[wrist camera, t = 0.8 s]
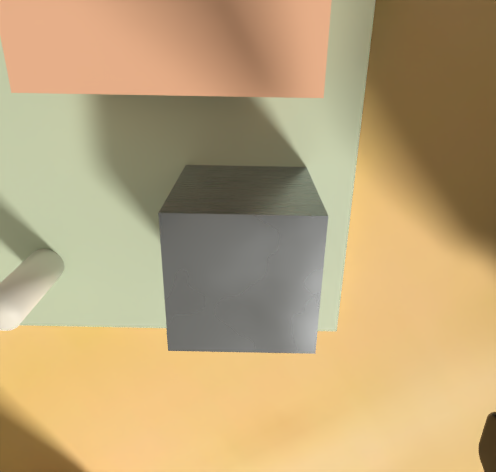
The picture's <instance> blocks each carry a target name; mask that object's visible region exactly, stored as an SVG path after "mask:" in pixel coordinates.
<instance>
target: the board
mask: <svg viewBox="0 0 496 472" xmlns="http://www.w3.org/2000/svg"><path fill="white" fill-rule="evenodd" d="M375 2H376V0H332V2H331V15H330V27H329V39H328V51H327V63H326V75H325V88H324V98H284V97H226V96H168V95H110V94H52V93H11V88H10V83H9V78H8V73H7V68H6V63H5V57H4V52H3V47H2V42H1V37H0V330H3V331H8V330H13V329H15V328H16V327H18V326H19V325H35V326H87V327H139V328H167V326H166V313H165V299H164V285H163V271H162V257H161V244H160V230H159V216H158V213H159V211H160V209H161V207H162V206H163V204H164V202H165V200H166V199H167V197H168V195H169V193H170V192H171V190H172V188H173V186H174V185H175V183H176V181H177V179H178V178H179V176H180V174H181V172H182V171H183V169H184V167H185V165H226V166H281V167H307V169H308V171H309V174H310V176H311V178H312V180H313V183H314V185H315V187H316V189H317V192H318V194H319V196H320V198H321V201H322V203H323V205H324V207H325V209H326V212H327V214H328V226H327V236H326V247H325V257H324V267H323V278H322V288H321V299H320V309H319V319H318V330H317V331H337V323H338V315H339V306H340V298H341V290H342V281H343V273H344V264H345V256H346V247H347V239H348V230H349V222H350V213H351V205H352V196H353V188H354V180H355V171H356V163H357V154H358V146H359V137H360V129H361V120H362V112H363V103H364V95H365V87H366V78H367V70H368V61H369V53H370V44H371V36H372V27H373V19H374V10H375Z"/></svg>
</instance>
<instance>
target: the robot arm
mask: <svg viewBox="0 0 496 472" xmlns="http://www.w3.org/2000/svg"><path fill="white" fill-rule="evenodd" d="M479 456H480V460H481V463H482V466H483V469H484V472H496V412H492V413H490V414H489V415H488V417H487V419H486V423H485V426H484V429H483V433H482V436H481V439H480V442H479Z"/></svg>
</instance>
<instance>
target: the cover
mask: <svg viewBox="0 0 496 472" xmlns="http://www.w3.org/2000/svg"><path fill="white" fill-rule="evenodd" d="M331 2H332V0H0V37H1V42H2V47H3V52H4V57H5V63H6V68H7V73H8V78H9V83H10V88H11V93H52V94H110V95H168V96H226V97H284V98H324V88H325V75H326V63H327V51H328V39H329V27H330V15H331Z"/></svg>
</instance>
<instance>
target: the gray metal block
mask: <svg viewBox="0 0 496 472" xmlns="http://www.w3.org/2000/svg"><path fill="white" fill-rule="evenodd" d="M158 216H159V230H160V244H161V257H162V271H163V285H164V299H165V313H166V326H167V340H168V351H211V352H262V353H314V354H315V350H316V340H317V330H318V319H319V309H320V299H321V288H322V278H323V267H324V257H325V247H326V236H327V226H328V214H327V212H326V209H325V207H324V205H323V203H322V201H321V198H320V196H319V194H318V192H317V189H316V187H315V185H314V183H313V180H312V178H311V176H310V174H309V171H308V169H307V167H281V166H226V165H185V167H184V169H183V171H182V172H181V174H180V176H179V178H178V179H177V181H176V183H175V185H174V186H173V188H172V190H171V192H170V193H169V195H168V197H167V199H166V200H165V202H164V204H163V206H162V207H161V209H160V211H159V213H158Z"/></svg>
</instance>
